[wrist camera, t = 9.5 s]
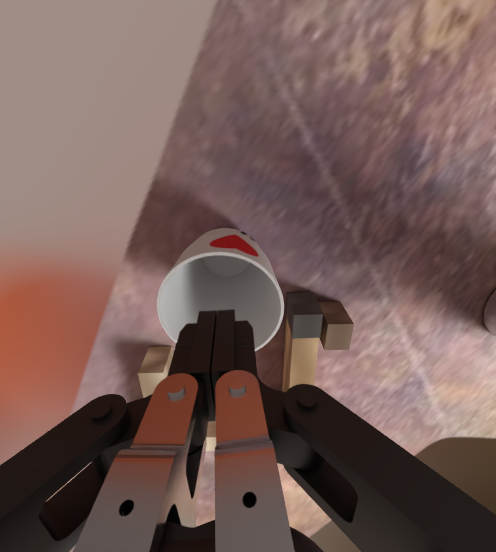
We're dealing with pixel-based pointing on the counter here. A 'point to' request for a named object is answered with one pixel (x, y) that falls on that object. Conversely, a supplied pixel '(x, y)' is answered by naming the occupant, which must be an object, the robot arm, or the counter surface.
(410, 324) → the counter surface
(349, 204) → the counter surface
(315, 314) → the leg
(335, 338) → the jointed wooden sticks
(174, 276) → the cup
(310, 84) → the counter surface
